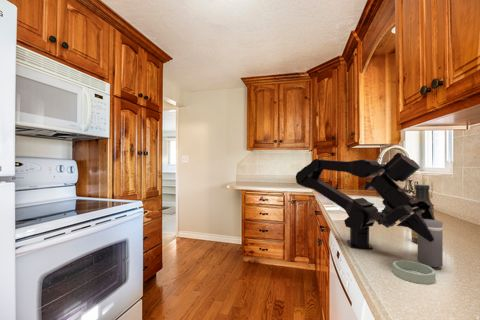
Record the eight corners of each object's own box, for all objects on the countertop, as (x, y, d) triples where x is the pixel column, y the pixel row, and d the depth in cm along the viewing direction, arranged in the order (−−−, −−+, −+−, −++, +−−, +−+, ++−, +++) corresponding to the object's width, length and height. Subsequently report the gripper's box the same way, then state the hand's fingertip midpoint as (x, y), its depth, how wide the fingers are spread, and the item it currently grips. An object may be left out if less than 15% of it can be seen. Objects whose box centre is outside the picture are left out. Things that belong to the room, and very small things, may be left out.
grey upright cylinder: (412, 259, 66) (412, 219, 66) (427, 257, 67) (427, 218, 67) (432, 268, 60) (432, 224, 61) (448, 265, 62) (448, 222, 62)
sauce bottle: (435, 247, 78) (434, 186, 78) (411, 243, 82) (411, 184, 82) (433, 241, 83) (433, 184, 84) (411, 238, 87) (411, 183, 87)
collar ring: (388, 266, 63) (388, 259, 63) (423, 269, 61) (423, 261, 61) (401, 281, 55) (401, 272, 55) (443, 285, 53) (443, 276, 53)
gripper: (384, 205, 82) (423, 247, 73) (354, 211, 71) (396, 261, 62) (411, 184, 75) (458, 227, 66) (383, 187, 65) (433, 239, 56)
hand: (436, 239), depth 63 cm, fingers closed on grey upright cylinder, 5 cm apart
